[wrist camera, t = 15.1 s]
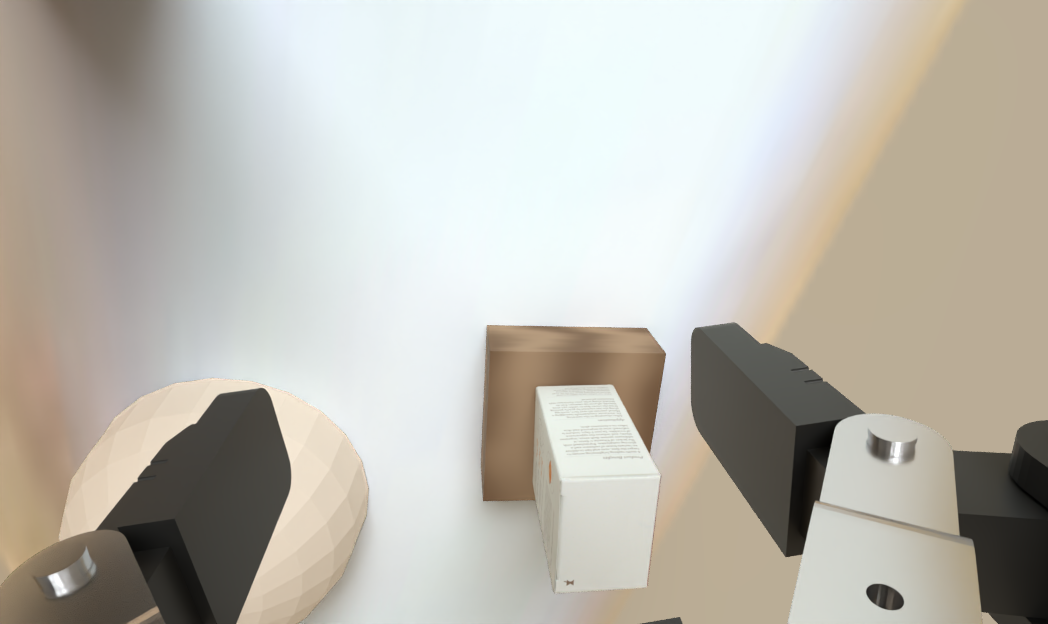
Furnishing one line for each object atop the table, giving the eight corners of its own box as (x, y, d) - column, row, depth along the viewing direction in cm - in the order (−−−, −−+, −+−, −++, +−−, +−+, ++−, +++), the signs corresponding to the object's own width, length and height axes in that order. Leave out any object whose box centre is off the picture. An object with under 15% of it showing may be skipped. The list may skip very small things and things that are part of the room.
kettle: (394, 402, 45) (357, 593, 28) (344, 606, 52) (290, 860, 35) (100, 344, 41) (-146, 527, 24) (86, 574, 48) (-113, 842, 31)
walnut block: (480, 460, 48) (483, 501, 43) (486, 322, 44) (490, 351, 39) (625, 459, 49) (642, 498, 45) (644, 325, 45) (665, 353, 41)
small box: (605, 478, 44) (648, 592, 34) (530, 481, 43) (552, 598, 33) (614, 381, 41) (665, 475, 31) (534, 383, 40) (560, 480, 31)
